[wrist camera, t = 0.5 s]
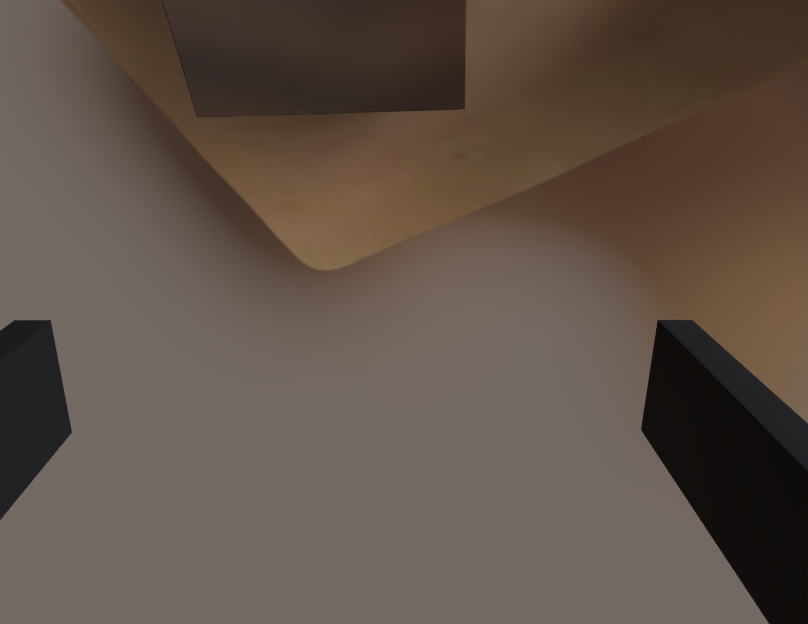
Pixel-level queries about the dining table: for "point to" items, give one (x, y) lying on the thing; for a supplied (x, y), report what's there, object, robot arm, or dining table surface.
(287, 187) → the dining table surface
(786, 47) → the dining table surface
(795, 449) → the robot arm
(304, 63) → the cabinet
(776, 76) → the dining table surface
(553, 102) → the dining table surface
